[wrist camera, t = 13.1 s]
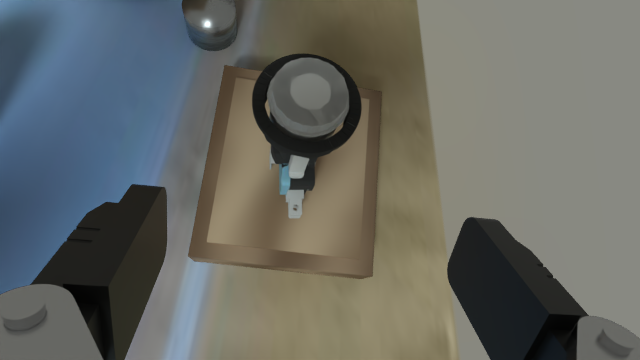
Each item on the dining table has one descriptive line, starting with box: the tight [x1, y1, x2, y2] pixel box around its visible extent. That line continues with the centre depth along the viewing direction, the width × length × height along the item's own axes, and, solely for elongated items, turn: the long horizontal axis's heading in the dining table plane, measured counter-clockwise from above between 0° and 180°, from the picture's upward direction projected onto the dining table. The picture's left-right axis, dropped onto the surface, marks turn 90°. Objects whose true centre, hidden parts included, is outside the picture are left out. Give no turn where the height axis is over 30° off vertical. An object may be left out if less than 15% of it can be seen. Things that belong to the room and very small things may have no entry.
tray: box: [188, 65, 382, 279], centre depth 29 cm, size 12×14×3 cm
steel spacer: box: [182, 0, 237, 51], centre depth 32 cm, size 4×4×3 cm
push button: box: [252, 54, 362, 218], centre depth 23 cm, size 7×5×10 cm
